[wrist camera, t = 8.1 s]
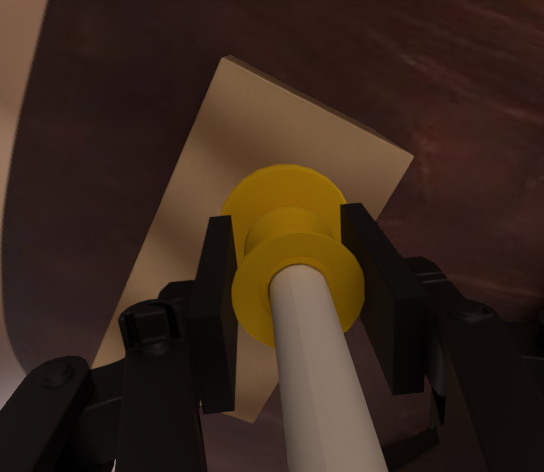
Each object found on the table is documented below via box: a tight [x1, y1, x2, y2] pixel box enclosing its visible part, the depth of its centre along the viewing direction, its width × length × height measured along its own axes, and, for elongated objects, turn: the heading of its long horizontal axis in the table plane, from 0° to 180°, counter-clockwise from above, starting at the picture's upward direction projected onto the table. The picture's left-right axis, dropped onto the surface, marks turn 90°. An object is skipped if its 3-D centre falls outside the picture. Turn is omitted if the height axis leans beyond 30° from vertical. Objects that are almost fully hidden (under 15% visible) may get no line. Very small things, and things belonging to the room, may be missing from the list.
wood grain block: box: [92, 55, 414, 423], centre depth 28 cm, size 18×10×9 cm, turn 154°
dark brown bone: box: [382, 425, 447, 472], centre depth 35 cm, size 11×10×28 cm
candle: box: [220, 164, 388, 472], centre depth 11 cm, size 5×5×16 cm
